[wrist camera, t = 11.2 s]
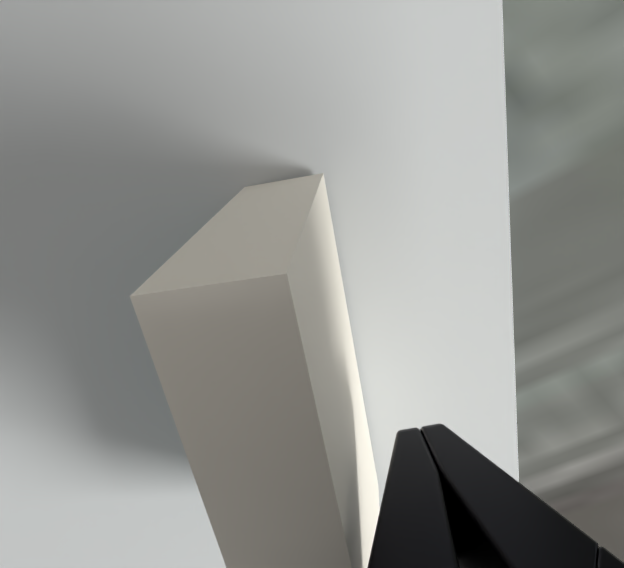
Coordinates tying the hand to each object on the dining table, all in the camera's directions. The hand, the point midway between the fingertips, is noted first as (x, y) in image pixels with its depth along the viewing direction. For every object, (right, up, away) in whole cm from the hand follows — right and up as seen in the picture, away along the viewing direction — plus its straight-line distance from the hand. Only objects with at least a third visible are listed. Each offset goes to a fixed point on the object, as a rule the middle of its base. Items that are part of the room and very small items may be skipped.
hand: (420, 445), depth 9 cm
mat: (-5, 0, +5) cm, 6 cm away
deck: (-2, +1, +4) cm, 4 cm away
